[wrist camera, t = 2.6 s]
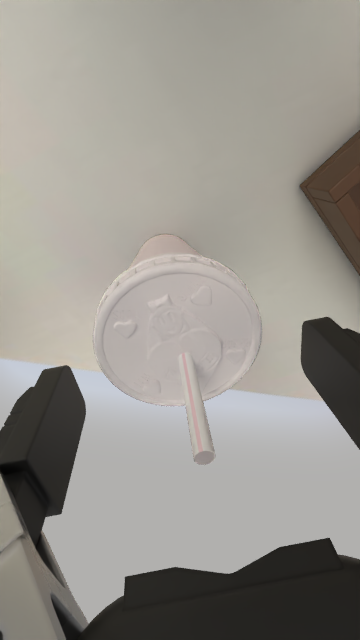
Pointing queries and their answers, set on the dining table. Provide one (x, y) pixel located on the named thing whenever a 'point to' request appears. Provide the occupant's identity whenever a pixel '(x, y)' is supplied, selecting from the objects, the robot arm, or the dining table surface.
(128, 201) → the dining table surface
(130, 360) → the smoothie
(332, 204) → the tray
